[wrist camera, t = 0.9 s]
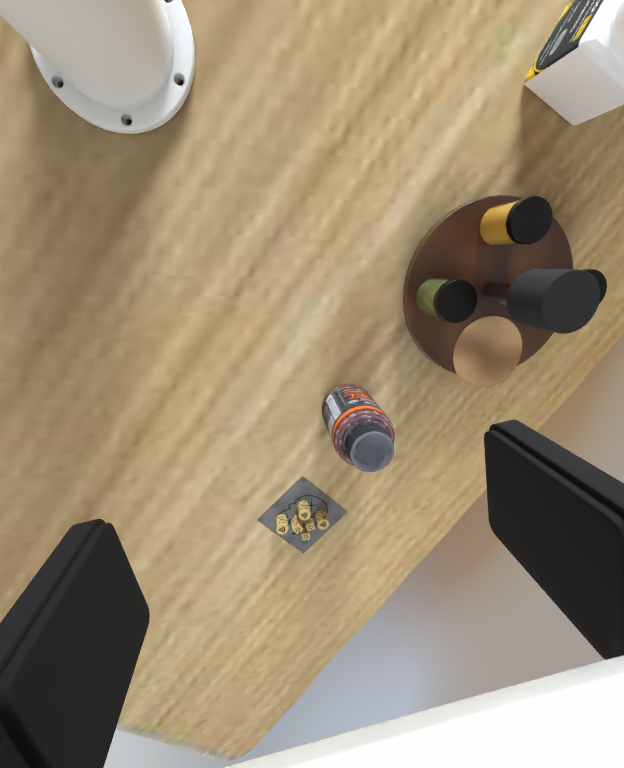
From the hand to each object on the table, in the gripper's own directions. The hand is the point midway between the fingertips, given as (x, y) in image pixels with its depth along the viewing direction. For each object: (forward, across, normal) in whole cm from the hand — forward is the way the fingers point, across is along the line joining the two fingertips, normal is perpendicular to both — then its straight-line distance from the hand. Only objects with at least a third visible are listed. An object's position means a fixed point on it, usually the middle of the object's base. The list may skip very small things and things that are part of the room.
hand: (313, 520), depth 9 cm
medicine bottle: (+32, -33, -18) cm, 50 cm away
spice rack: (+31, -22, +1) cm, 38 cm away
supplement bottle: (+33, -6, +11) cm, 35 cm away
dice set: (+33, +2, +24) cm, 41 cm away
